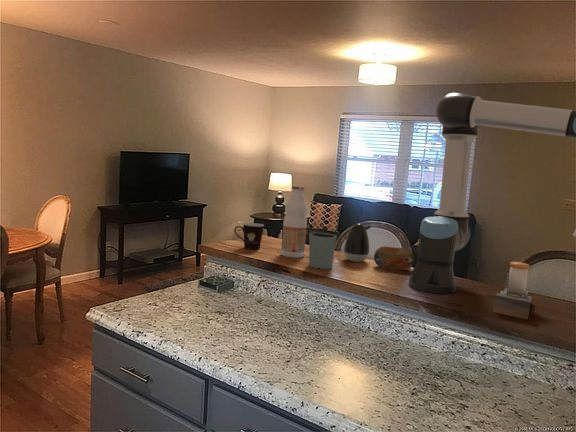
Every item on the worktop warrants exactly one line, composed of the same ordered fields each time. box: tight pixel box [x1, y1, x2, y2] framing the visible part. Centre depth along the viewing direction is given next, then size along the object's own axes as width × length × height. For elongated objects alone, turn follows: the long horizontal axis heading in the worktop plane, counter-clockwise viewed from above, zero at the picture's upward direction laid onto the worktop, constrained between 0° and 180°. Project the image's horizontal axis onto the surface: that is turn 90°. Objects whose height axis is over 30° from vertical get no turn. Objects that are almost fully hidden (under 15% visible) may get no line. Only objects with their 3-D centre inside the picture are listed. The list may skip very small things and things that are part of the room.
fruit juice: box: [280, 185, 309, 259], centre depth 191 cm, size 9×9×28 cm
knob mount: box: [493, 287, 532, 320], centre depth 145 cm, size 20×9×5 cm, turn 151°
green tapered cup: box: [308, 232, 337, 270], centre depth 177 cm, size 10×10×12 cm
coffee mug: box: [233, 222, 265, 251], centre depth 201 cm, size 12×9×10 cm
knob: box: [506, 261, 531, 298], centre depth 149 cm, size 5×5×10 cm
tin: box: [373, 245, 415, 271], centre depth 185 cm, size 15×3×8 cm, turn 81°
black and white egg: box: [343, 222, 371, 263], centre depth 192 cm, size 10×10×15 cm
